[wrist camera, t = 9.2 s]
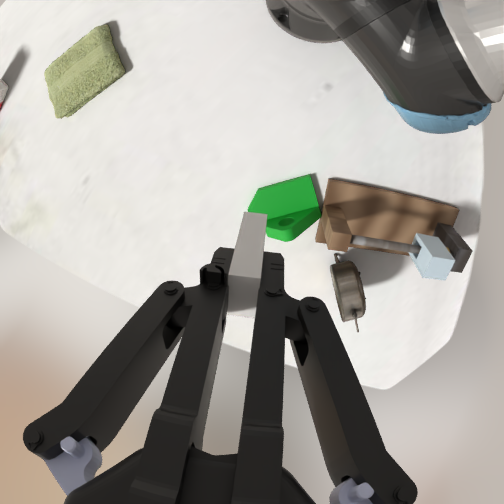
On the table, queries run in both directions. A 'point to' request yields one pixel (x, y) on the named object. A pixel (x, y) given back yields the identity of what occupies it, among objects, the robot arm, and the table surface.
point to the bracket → (287, 207)
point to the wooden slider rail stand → (386, 221)
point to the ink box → (2, 91)
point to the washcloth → (83, 71)
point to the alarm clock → (348, 290)
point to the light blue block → (432, 257)
